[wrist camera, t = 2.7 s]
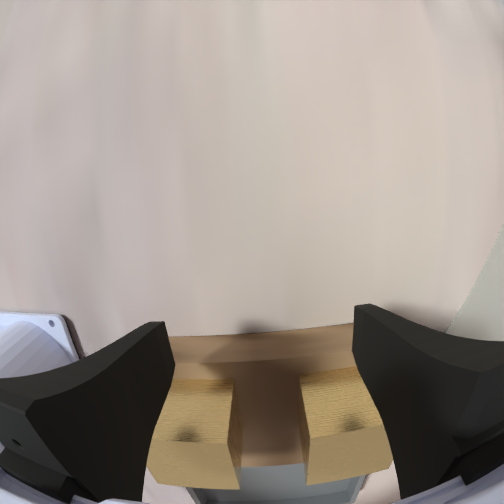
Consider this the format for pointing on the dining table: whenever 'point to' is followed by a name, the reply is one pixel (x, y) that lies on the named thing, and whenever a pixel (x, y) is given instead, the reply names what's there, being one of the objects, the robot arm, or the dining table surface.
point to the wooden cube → (198, 436)
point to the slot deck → (266, 380)
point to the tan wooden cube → (339, 427)
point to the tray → (280, 488)
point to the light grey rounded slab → (484, 301)
